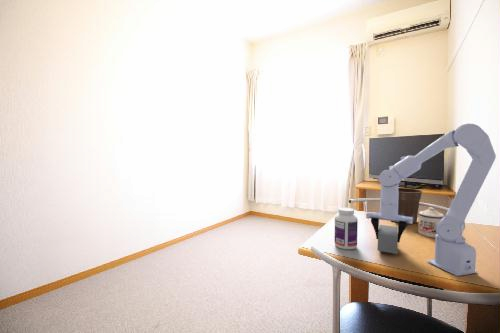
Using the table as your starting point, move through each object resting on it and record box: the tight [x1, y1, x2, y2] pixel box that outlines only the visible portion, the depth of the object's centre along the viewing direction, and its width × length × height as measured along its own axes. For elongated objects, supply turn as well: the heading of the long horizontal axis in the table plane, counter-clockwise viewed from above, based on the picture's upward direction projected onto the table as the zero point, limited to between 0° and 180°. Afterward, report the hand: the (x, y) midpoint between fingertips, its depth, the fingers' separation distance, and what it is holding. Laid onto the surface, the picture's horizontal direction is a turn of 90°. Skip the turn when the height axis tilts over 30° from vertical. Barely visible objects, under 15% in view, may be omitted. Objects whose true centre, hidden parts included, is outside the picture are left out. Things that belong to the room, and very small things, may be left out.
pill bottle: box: [334, 207, 359, 250], centre depth 95 cm, size 8×8×14 cm
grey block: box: [377, 224, 398, 255], centre depth 91 cm, size 11×6×6 cm, turn 150°
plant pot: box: [394, 187, 424, 225], centre depth 128 cm, size 16×16×16 cm
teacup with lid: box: [417, 206, 445, 239], centre depth 106 cm, size 12×9×12 cm
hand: (387, 240), depth 91 cm, fingers closed on grey block, 6 cm apart
